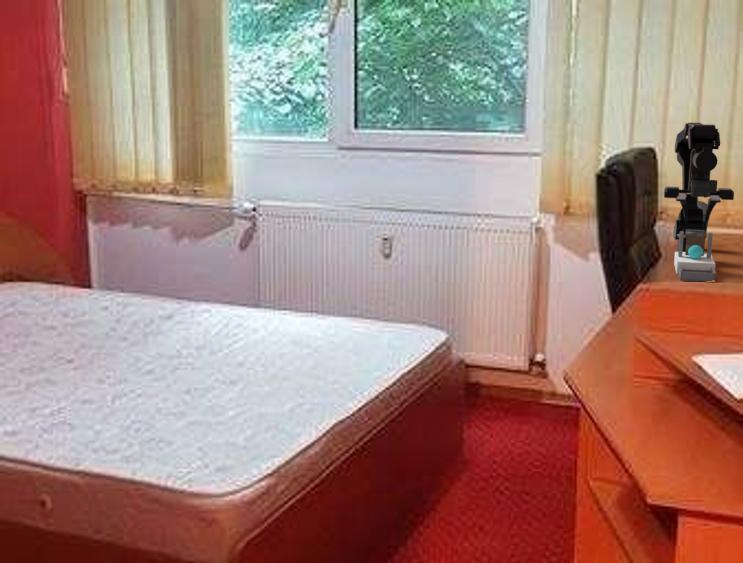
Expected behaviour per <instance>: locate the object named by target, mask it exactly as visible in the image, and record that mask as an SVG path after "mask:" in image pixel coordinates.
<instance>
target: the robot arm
mask: <svg viewBox="0 0 743 563" xmlns="http://www.w3.org/2000/svg"><path fill="white" fill-rule="evenodd" d="M720 146H721V136H720V132H719V129H718V128H716V125H715V124H703V123H701V122H687V123H686V122H685V124H684V128H683V129H682V130H681V131H679V132H678V133H677V134H676V138H675V142H674V153H676V160H677V162H678V163H679V165H680V166H681V168H682V170H681V173H682V174H681V175H682V176H681V179H682V183H681V184H682V186H681V188H682V189H680V187H679V186H665V187H664V188H663V197H664V198H665V199H675V201H676V202H679V203H680V205H681V209H680V211H679V212H678V216H677V217H676V220H675V221H674V226H673V230H672V233H673V234H672V238H673V239H674V240H677V249H676V250H677V251H676V252H679V238H680V231H683V232H684V238H683V251H682V252H685V251H686V238H687V237H686V229H688V230H704V231H705V232H706V230H707V231H708V226H707V225H706V223H707V221H708V219H709V220H710V218H709V216H710V217H711V215H710V214H712V211H713V209H714V208H715V206H716V205H717V204H719V203H722V201H723V200H724V201H733V200H734V199H735V198H734V197H735V191H734V190H733V189H732V188H730V187H729V188H725V187H718V180H717V179H711V172H712V171H714V169H715V168H716V167H717V164H718V157H717V156H716V154H715V152H714V150H719V148H720ZM697 197H698V198H699V197H700V198H708V199H707V203H706V204H707V210H706V215H705V221H703V210H702V209H701V208H699V207H698V205H697ZM721 200H722V201H721ZM708 222H709V221H708Z"/></svg>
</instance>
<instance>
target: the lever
mask: <svg viewBox="0 0 743 563" xmlns="http://www.w3.org/2000/svg"><path fill="white" fill-rule="evenodd" d="M685 236H686V237H687V238H686V251H685V255H689V254H688V250H689V248H690V247H691V246H693V245H698V246H700V247H701V248H702V249H703V254H702V256H704V253H705V244H706V239H707V238H708V232H705V231H704V230H688V229H686V235H685Z"/></svg>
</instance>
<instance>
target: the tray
mask: <svg viewBox="0 0 743 563" xmlns="http://www.w3.org/2000/svg"><path fill="white" fill-rule="evenodd" d="M678 277H679V281H680V280H682V281H681V282H695V281H712V280H716V278H717V272H716V269H715V270H714V268H713V267H711V271H706V270H687V269H682V267H681V266H679V274H678ZM716 281H717V280H716Z"/></svg>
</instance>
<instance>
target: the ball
mask: <svg viewBox="0 0 743 563" xmlns="http://www.w3.org/2000/svg"><path fill="white" fill-rule="evenodd" d="M688 254H689V256H690V257H691V258H693V259H698V258H700V257H701V256H702V254H703V249H702V248H701V247H700V246H698V245H693V246H691V247H690V248H689V250H688Z"/></svg>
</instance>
